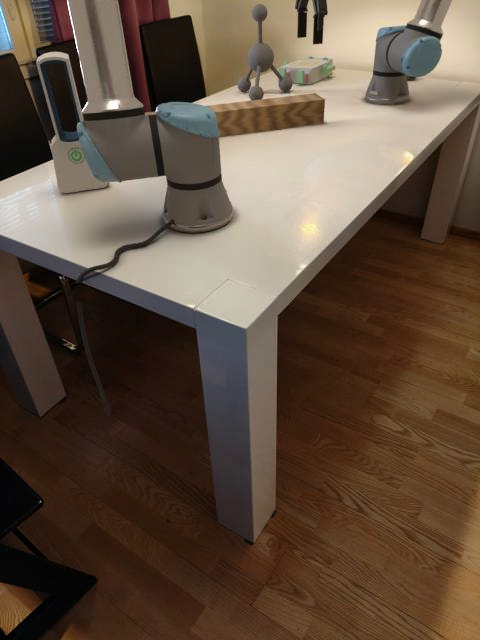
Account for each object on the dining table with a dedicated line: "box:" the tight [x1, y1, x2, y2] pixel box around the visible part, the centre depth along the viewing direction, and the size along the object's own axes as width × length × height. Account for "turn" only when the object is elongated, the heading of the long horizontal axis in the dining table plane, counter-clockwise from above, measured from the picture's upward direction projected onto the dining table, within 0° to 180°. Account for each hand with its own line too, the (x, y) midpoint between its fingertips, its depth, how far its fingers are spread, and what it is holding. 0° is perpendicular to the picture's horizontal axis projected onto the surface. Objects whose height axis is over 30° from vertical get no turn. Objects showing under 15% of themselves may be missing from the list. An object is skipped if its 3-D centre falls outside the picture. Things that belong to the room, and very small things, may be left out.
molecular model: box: [237, 3, 293, 101], centre depth 180 cm, size 24×22×30 cm
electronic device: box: [35, 51, 110, 194], centre depth 116 cm, size 12×8×30 cm, turn 105°
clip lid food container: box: [277, 55, 336, 85], centre depth 206 cm, size 26×6×20 cm
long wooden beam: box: [145, 92, 326, 138], centre depth 153 cm, size 66×8×7 cm, turn 104°
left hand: (115, 59), depth 136 cm, fingers open, 13 cm apart
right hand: (309, 40), depth 145 cm, fingers open, 13 cm apart
